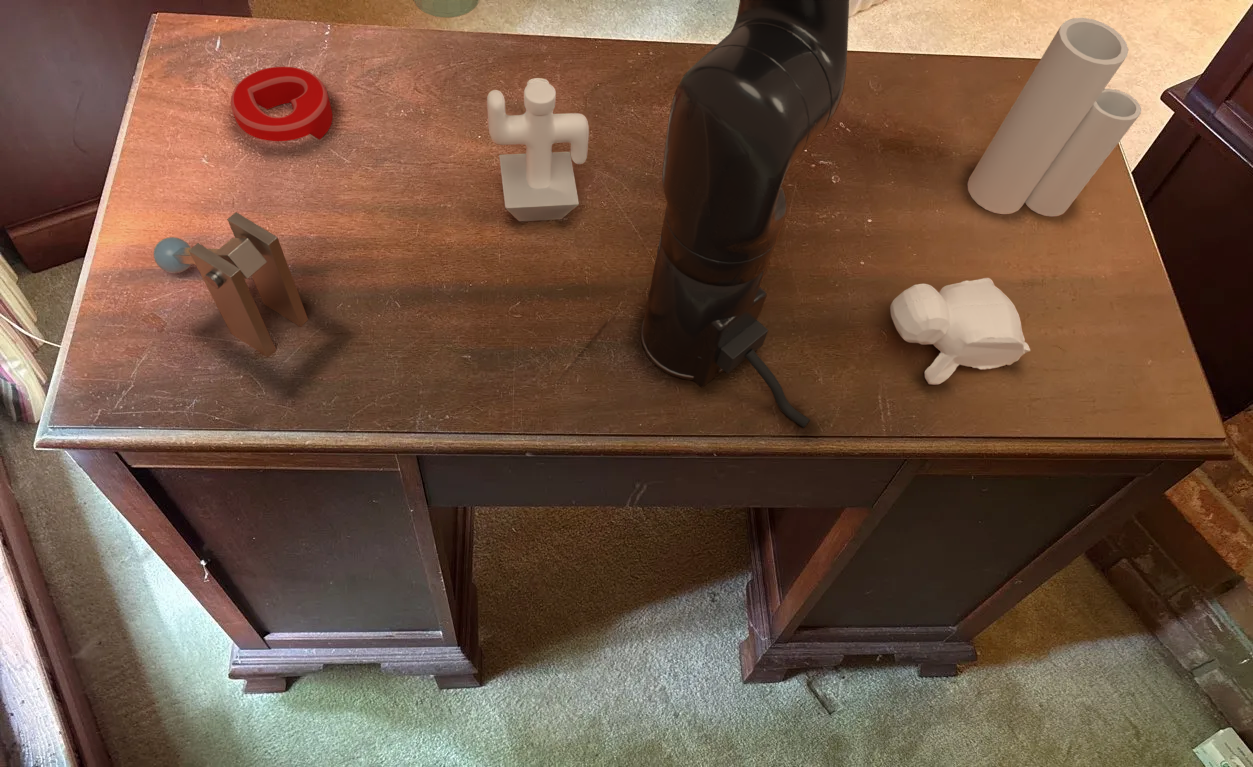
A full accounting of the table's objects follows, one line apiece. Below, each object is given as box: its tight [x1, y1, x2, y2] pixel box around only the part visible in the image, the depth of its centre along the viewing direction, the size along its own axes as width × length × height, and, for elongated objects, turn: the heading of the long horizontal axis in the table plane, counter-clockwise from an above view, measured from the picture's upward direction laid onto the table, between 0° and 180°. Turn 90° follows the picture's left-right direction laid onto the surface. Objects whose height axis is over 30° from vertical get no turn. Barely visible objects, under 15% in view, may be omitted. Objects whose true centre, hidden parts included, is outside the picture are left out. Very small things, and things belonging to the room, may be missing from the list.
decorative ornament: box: [230, 66, 334, 142], centre depth 92 cm, size 10×10×3 cm
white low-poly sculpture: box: [889, 277, 1031, 385], centre depth 83 cm, size 9×8×15 cm
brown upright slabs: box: [189, 211, 309, 358], centre depth 74 cm, size 10×7×13 cm
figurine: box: [486, 77, 590, 222], centre depth 84 cm, size 7×9×15 cm
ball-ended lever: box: [153, 236, 267, 280], centre depth 75 cm, size 16×3×3 cm
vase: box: [966, 17, 1142, 217], centre depth 90 cm, size 11×7×20 cm, turn 93°
